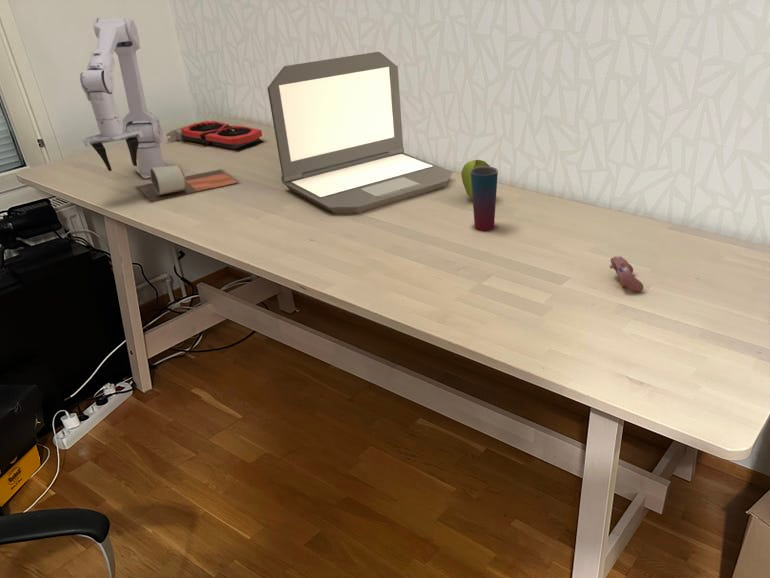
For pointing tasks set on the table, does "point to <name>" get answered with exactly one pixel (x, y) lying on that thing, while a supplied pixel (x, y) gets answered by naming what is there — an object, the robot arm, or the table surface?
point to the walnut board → (192, 185)
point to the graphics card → (217, 135)
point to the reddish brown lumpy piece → (625, 274)
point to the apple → (467, 174)
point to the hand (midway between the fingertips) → (122, 167)
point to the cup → (484, 196)
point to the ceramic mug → (168, 179)
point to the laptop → (346, 134)
